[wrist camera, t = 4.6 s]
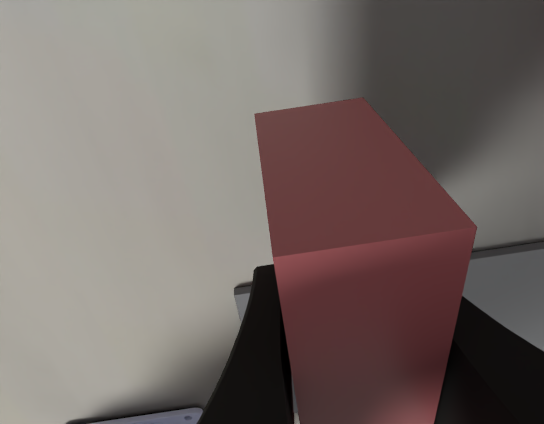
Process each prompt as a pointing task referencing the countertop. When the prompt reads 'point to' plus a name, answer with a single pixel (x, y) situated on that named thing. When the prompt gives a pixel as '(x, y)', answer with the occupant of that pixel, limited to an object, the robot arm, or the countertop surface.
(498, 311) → the mat
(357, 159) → the box
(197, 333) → the countertop surface
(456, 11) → the countertop surface
